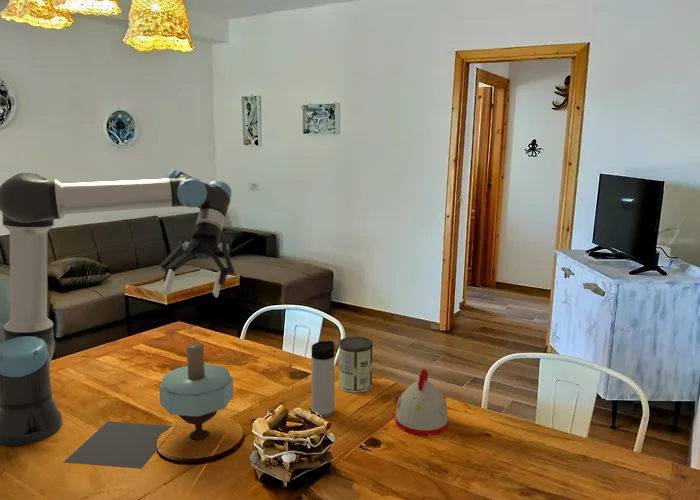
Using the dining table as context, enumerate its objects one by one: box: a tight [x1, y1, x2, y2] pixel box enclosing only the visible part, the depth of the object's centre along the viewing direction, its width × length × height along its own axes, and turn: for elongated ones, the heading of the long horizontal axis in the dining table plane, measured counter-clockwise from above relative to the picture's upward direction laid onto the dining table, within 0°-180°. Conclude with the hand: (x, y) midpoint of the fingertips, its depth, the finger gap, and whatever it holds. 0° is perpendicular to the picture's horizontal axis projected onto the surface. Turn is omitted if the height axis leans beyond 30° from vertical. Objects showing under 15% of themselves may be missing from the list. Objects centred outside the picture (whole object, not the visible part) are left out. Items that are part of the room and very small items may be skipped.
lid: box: [158, 342, 234, 417], centre depth 137 cm, size 16×16×14 cm
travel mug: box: [310, 340, 335, 418], centre depth 152 cm, size 6×7×20 cm
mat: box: [63, 420, 173, 469], centre depth 136 cm, size 19×19×1 cm
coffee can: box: [338, 336, 374, 394], centre depth 169 cm, size 10×10×14 cm
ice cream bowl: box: [177, 411, 218, 442], centre depth 139 cm, size 11×11×15 cm
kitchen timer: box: [395, 368, 449, 437], centre depth 148 cm, size 14×14×15 cm
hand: (190, 293), depth 147 cm, fingers open, 13 cm apart
